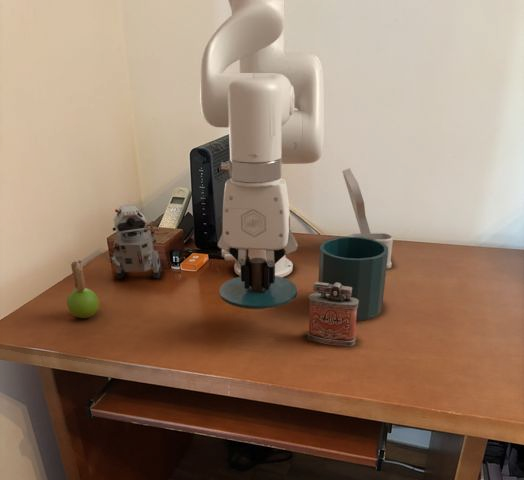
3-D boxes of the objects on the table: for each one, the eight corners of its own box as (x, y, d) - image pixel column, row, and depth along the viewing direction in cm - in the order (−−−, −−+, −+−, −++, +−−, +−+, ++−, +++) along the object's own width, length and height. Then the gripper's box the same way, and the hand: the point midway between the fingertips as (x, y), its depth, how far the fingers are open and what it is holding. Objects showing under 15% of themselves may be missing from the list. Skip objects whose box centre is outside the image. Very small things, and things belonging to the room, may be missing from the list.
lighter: (357, 338, 92) (361, 283, 86) (353, 347, 89) (357, 291, 84) (310, 331, 94) (312, 277, 89) (305, 340, 91) (306, 285, 86)
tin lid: (211, 309, 87) (208, 273, 83) (229, 278, 97) (227, 245, 94) (291, 315, 84) (292, 277, 81) (301, 282, 95) (301, 248, 92)
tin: (314, 318, 98) (317, 257, 92) (320, 291, 108) (322, 235, 102) (382, 323, 96) (388, 261, 90) (381, 295, 106) (387, 237, 100)
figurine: (110, 291, 109) (97, 217, 102) (122, 269, 119) (111, 200, 112) (155, 290, 109) (146, 216, 102) (163, 268, 119) (156, 200, 112)
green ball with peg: (74, 328, 96) (60, 263, 90) (67, 313, 101) (54, 252, 95) (105, 321, 98) (94, 258, 92) (97, 307, 103) (85, 246, 97)
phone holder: (392, 269, 117) (402, 183, 108) (345, 269, 118) (351, 184, 108) (378, 241, 132) (386, 164, 123) (336, 242, 132) (341, 165, 123)
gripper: (196, 175, 79) (204, 292, 88) (307, 178, 76) (304, 298, 86) (209, 164, 85) (216, 275, 95) (313, 167, 83) (309, 280, 92)
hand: (258, 285), depth 90 cm, fingers closed on tin lid, 2 cm apart
